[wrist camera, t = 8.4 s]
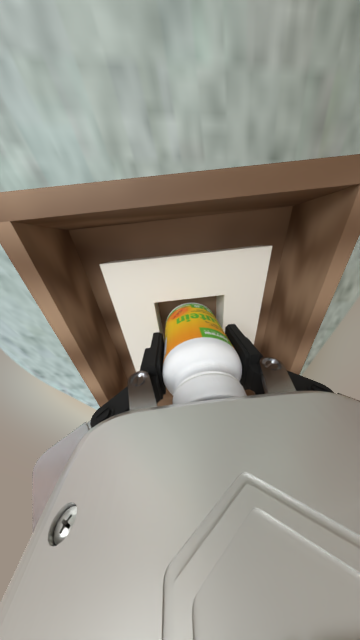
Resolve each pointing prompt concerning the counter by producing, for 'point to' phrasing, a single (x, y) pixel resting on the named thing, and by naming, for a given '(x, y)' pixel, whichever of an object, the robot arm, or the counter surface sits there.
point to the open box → (185, 250)
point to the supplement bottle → (199, 357)
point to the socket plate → (187, 290)
